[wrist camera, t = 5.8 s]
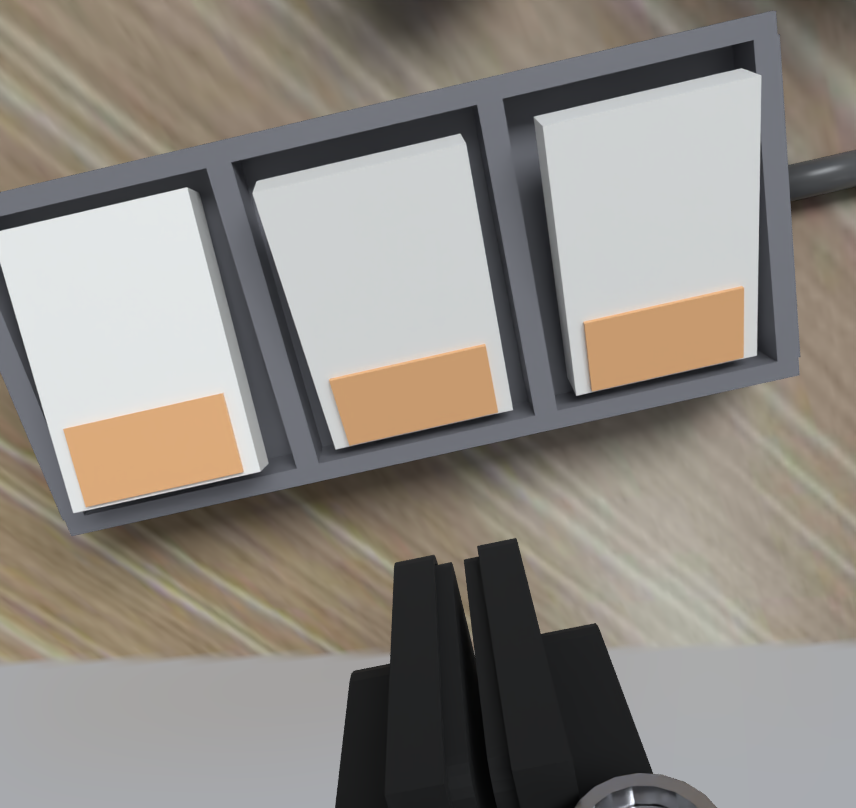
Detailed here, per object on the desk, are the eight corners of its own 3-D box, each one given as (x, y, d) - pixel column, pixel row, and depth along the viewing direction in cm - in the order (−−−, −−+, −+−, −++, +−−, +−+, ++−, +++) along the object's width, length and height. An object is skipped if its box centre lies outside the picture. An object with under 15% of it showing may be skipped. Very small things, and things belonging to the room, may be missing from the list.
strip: (895, -16, 21) (995, -43, 18) (902, 305, 24) (987, 335, 21) (-13, 197, 22) (-88, 211, 19) (101, 484, 25) (54, 541, 22)
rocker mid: (459, 131, 18) (466, 144, 17) (505, 387, 22) (513, 412, 21) (257, 178, 19) (251, 194, 17) (336, 425, 22) (335, 452, 21)
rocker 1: (201, 193, 20) (185, 186, 19) (270, 461, 21) (259, 472, 20) (17, 236, 20) (-12, 232, 19) (93, 501, 21) (71, 514, 20)
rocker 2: (738, 67, 18) (764, 76, 17) (737, 335, 22) (758, 357, 21) (532, 114, 18) (543, 127, 17) (565, 373, 22) (577, 397, 21)
